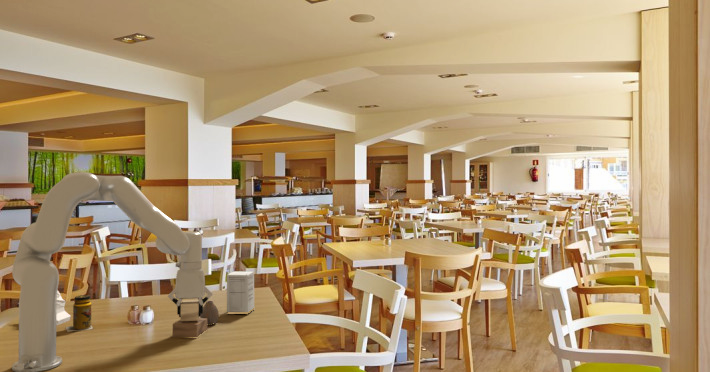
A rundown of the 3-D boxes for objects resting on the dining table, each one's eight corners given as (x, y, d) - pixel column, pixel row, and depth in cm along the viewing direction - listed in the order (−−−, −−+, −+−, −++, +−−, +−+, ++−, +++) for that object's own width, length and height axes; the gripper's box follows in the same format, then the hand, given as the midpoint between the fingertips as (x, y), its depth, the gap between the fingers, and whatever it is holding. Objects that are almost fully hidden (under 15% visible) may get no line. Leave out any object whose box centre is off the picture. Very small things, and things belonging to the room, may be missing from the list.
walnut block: (196, 339, 183) (196, 324, 183) (172, 337, 184) (172, 323, 184) (207, 332, 192) (207, 318, 192) (184, 330, 193) (184, 317, 193)
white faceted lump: (53, 320, 212) (64, 285, 214) (72, 329, 204) (83, 293, 206) (21, 318, 202) (32, 282, 204) (39, 328, 194) (51, 290, 196)
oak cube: (198, 320, 186) (198, 303, 186) (180, 321, 185) (180, 304, 185) (199, 316, 192) (199, 300, 192) (182, 317, 190) (182, 300, 190)
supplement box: (254, 310, 226) (255, 271, 226) (248, 315, 216) (248, 274, 216) (233, 309, 227) (233, 270, 227) (225, 314, 217) (226, 274, 217)
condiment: (93, 329, 194) (93, 296, 194) (67, 332, 189) (67, 299, 189) (90, 324, 200) (91, 293, 200) (65, 327, 195) (66, 295, 196)
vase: (196, 325, 201) (196, 302, 201) (209, 321, 207) (209, 298, 207) (209, 327, 198) (209, 304, 198) (222, 323, 204) (222, 300, 204)
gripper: (164, 268, 183) (163, 319, 183) (215, 267, 186) (214, 317, 186) (166, 265, 190) (166, 314, 190) (215, 264, 194) (215, 312, 194)
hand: (190, 315), depth 188 cm, fingers closed on oak cube, 6 cm apart
